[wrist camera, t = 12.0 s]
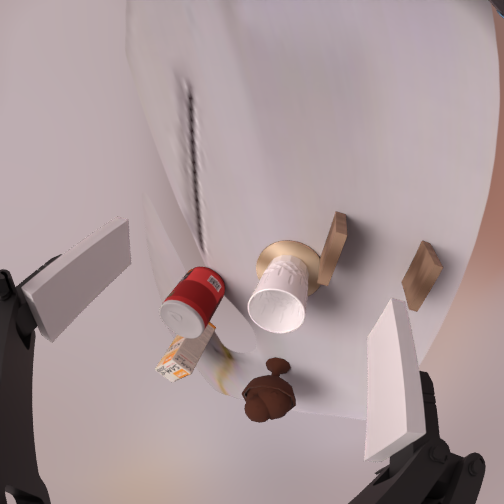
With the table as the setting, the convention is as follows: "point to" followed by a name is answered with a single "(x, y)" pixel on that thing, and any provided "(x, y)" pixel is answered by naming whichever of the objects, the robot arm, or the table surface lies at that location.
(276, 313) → the white cup
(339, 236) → the walnut cradle
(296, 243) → the cork coaster
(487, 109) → the table surface
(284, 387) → the ice cream bowl
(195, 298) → the canned food
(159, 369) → the supplement box
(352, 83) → the table surface
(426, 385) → the robot arm
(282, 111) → the table surface
